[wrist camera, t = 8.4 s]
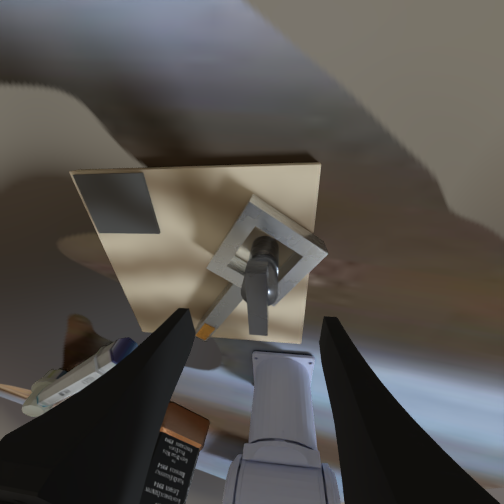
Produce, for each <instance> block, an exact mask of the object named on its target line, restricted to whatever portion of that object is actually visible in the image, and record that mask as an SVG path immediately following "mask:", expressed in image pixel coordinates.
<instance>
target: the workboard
mask: <svg viewBox="0 0 504 504" xmlns="http://www.w3.org/2000/svg"><path fill="white" fill-rule="evenodd" d="M320 171H321V164H320V163H319V162H314V163H281V164H248V165H216V166H183V167H150V168H119V169H86V170H75V171H71V172H69V173H70V175H71V177H72V179H73V182H74V184H75V186H76V188H77V190H78V192H79V195H80V197H81V198H82V201H83V203H84V205H85V208H86V210H87V212H88V214H89V216H90V218H91V221H92V223H93V225H94V227H95V229H96V232H97V234H98V236H99V238H100V240H101V242H102V245H103V247H104V249H105V251H106V253H107V256H108V258H109V260H110V262H111V264H112V266H113V269H114V271H115V273H116V275H117V277H118V279H119V282H120V284H121V286H122V288H123V290H124V292H125V295H126V297H127V299H128V301H129V303H130V305H131V308H132V310H133V312H134V314H135V316H136V318H137V321H138V323H139V325H140V327H141V329H142V332H151V333H153V332H154V331H155V330H156V329H157V328H158V327H159V326H160V325H161V324H162V323H164V322H165V321H166V320H167V319H168V318H169V317H170V316H171V315H172V314H173V313H174V312H175V311H176V310H177V309H178V308H189V310H190V314H191V317H192V321H193V325H194V328H195V329H196V327H197V324H198V322H199V321H200V320H201V318H202V317H203V316H204V314H205V313H206V312H207V310H208V309H209V308H210V307H211V305H212V304H213V303H214V301H215V300H216V299H217V297H218V296H219V295H220V294H221V292H222V291H223V290H224V288H225V287H226V286H227V284H228V283H229V281H227V280H226V279H224V278H222V277H220V276H219V275H217V274H215V273H213V272H212V271H210V270H208V269H206V268H207V266H208V264H209V262H210V260H211V259H212V257H213V255H214V253H215V252H216V250H217V249H218V247H219V246H220V244H221V243H222V241H223V239H224V238H225V236H226V235H227V233H228V232H229V230H230V229H231V227H232V225H233V224H234V222H235V221H236V219H237V218H238V216H239V215H240V213H241V212H242V210H243V208H244V207H245V205H246V204H247V202H248V201H249V199H250V198H251V196H252V194H254V195H256V196H257V197H259V198H260V199H262V200H263V201H265V202H266V203H268V204H269V205H271V206H272V207H274V208H275V209H277V210H278V211H280V212H281V213H282V214H284V215H285V216H287V217H288V218H290V219H291V220H293V221H294V222H296V223H297V224H299V225H300V226H302V227H303V228H305V229H306V230H308V231H309V232H311V233H312V234H313V233H314V224H315V215H316V206H317V197H318V188H319V179H320ZM260 236H269V237H272V236H270V235H268V234H267V233H265V232H264V231H262V230H261V229H259V228H257V227H256V226H255V227H254V228H253V230H252V231H251V233H250V234H249V235H248V237H247V238H246V240H245V241H244V242H243V244H242V245H241V247H240V248H239V249H238V251H237V252H236V254H235V256H236V257H238V258H240V259H242V260H243V261H245V262H247V261H248V259H249V255H250V251H251V247H252V244H253V242H254V240H255V239H256V238H258V237H260ZM272 238H273V237H272ZM274 239H275V238H274ZM275 240H276V239H275ZM276 241H277V243H278V245H279V265H278V269H279V268H280V267H281V266H282V265H283V264H284V263H285V262H286V261H287V259H288V258H289V257H290V256H291V255H292V254H293V253H294V252H295V251H293V250H292V249H290V248H289V247H287V246H286V245H284V244H283V243H281V242H279V241H278V240H276ZM308 277H309V273H308V274H307V275H306V276H305V277H304V278H303V279H302V280H301V281H300V282H299V283H298V284H297V285H296V286H295V287H294V288H293V289H292V290H291V291H290V292H289V293H288V294H286V295H285V296H284V297H283V298H282V299H281V300H280V301H279V302H278V303H277V304H276V305H275V306H274V307H273V306H272V305H270V306H268V317H269V322H268V336H262V335H249V324H248V312H247V303H246V302H245V301H244V300H242V301H241V302H240V303H239V305H238V306H237V307H236V308H235V309H234V310H233V311H232V313H231V314H230V315H229V316H228V317H227V318H226V319H225V321H224V322H223V323H222V324H221V325H220V326H219V327H218V329H217V330H216V331H215V332H214V333H213V334H212V335H211V337H216V338H229V339H242V340H255V341H269V342H282V343H295V344H301V340H302V331H303V322H304V313H305V304H306V295H307V286H308Z"/></svg>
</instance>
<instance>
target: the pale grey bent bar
mask: <svg viewBox="0 0 504 504" xmlns="http://www.w3.org/2000/svg"><path fill="white" fill-rule="evenodd" d="M137 347H138V344H137V343H136V342H135V341H133V340H132V339H131V338H129V337H127V338H121V339H118V340H116V341H115V342H113V343H112V344H110V345H107V346H102V347H101V348H100V349H99V350H98V352H97V353H96V354H95V355H93V356H92V357H90V358H89V359H87V360H86V361H84V362H83V363H81V364H80V365H78V366H77V367H75V368H74V369H72V370H71V371H69V372H67V371H64V370H61V368H59V369H58V370H53V369H51V370H50V371H48V372H47V373H46V374H45V376H44V377H43V378H41V379H40V380H38V381H37V382H35V383H34V384H33V385H32V389H31V391H32V393H31V395H30V396H29V397H28V399H27V400H26V401H25V402H24V404H23V407H22V412H23V413H24V414H26V415H28V416H32V417H39V416H40V415H42V414H44V413H45V412H47V411H49V409H50V408H51V407H52V406H53V405H54V404H55V403H57V402H59V401H61V400H63V399H65V398H67V397H69V396H71V395H73V394H75V393H77V392H79V391H80V390H82V389H83V388H85V387H86V386H88V385H89V384H90V383H92V382H93V381H95V380H96V379H98V378H99V377H101V376H102V375H103V374H105V373H106V372H107V371H109V370H110V369H111V368H113V367H114V366H115V365H116V364H118V363H119V362H120V361H121V360H123V359H124V358H125V357H126V356H127V355H129V354H130V353H131V352H132V351H133V350H134V349H136V348H137Z"/></svg>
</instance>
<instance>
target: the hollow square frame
mask: <svg viewBox="0 0 504 504" xmlns="http://www.w3.org/2000/svg"><path fill="white" fill-rule="evenodd" d="M255 226H256V227H257V228H259V229H261V230H262V231H264V232H265V233H267V234H268V235H270V236H272V237H273V238H275V239H276V240H278V241H279V242H281V243H283V244H284V245H286V246H287V247H289V248H290V249H292V250H293V251H295V252H294V253H293V254H292V255H291V256H290V257H289V258H288V259H287V261H286V262H285V263H284V264H283V265H282V266H281V267H280V268H279V269H278V297H277V299H276V301H275V302H274V303H273V304H272V306H273V307H274V306H275V305H276V304H277V303H278V302H279V301H280V300H281V299H282V298H283V297H284V296H285V295H286V294H288V293H289V292H290V291H291V290H292V289H293V288H294V287H295V286H296V285H297V284H298V283H299V282H300V281H301V280H302V279H303V278H304V277H305V276H306V275H307V274H308V273H309V272H310V271H311V270H312V269H313V268H314V267H315V266H316V265H317V264H318V263H319V262H320V261H321V260H322V259H323V258H324V257H326V256H327V255H328V251H327V249H326V246H325V243H324V241H323V240H321V239H320V238H318V237H317V236H315V235H314V234H312V233H311V232H309V231H308V230H306V229H305V228H303V227H302V226H300V225H299V224H297V223H296V222H294V221H293V220H291V219H290V218H288V217H287V216H285V215H284V214H282V213H281V212H280V211H278V210H277V209H275V208H274V207H272V206H271V205H269V204H268V203H266V202H265V201H263V200H262V199H260V198H259V197H257V196H256V195H254V194H252V196H251V198H250V199H249V201H248V202H247V204H246V205H245V207H244V208H243V210H242V212H241V213H240V215H239V216H238V218H237V219H236V221H235V222H234V224H233V225H232V227H231V229H230V230H229V232H228V233H227V235H226V236H225V238H224V239H223V241H222V243H221V244H220V246H219V247H218V249H217V250H216V252H215V253H214V255H213V257H212V259H211V260H210V262H209V264H208V266H207V268H206V269H208V270H210V271H212V272H213V273H215V274H217V275H219V276H220V277H222V278H224V279H226V280H227V281H229V283H228V284H227V286H226V287H225V288H224V290H223V291H222V292H221V294H220V295H219V296H218V297H217V299H216V300H215V301H214V303H213V304H212V305H211V307H210V308H209V309H208V310H207V312H206V313H205V314H204V316H203V317H202V318H201V320H200V321H199V322H198V324H197V327H196V329H195V332H196V334H195V337H197V338H199V339H201V340H203V341H205V342H206V341H207V340H208V339H209V338H210V337H211V335H212V334H213V333H214V332H215V331H216V330H217V329H218V327H219V326H220V325H221V324H222V323H223V322H224V321H225V319H226V318H227V317H228V316H229V315H230V314H231V313H232V311H233V310H234V309H235V308H236V307H237V306H238V305H239V303H240V302H241V301H242V300H243V298H242V296H241V287H242V283H243V279H244V275H245V274H244V273H245V269H246V265H247V262H245V261H243V260H242V259H240V258H238V257H236V256H235V254H236V252H237V251H238V249H239V248H240V247H241V245H242V244H243V242H244V241H245V240H246V238H247V237H248V235H249V234H250V233H251V231H252V230H253V228H254V227H255Z"/></svg>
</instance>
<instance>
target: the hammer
mask: <svg viewBox="0 0 504 504" xmlns="http://www.w3.org/2000/svg"><path fill="white" fill-rule="evenodd" d="M278 265H279V245H278V243H277V241H276V240H275V239H274V238H272V237H269V236H260V237H258V238H256V239H255V240H254V242H253V244H252V247H251V251H250V255H249V259H248V261H247V265H246V269H245V273H244V274H245V275H244V279H243V283H242V287H241V296H242V298H243V300H244V301H245V302H246V303H247V312H248V324H249V335H262V336H268V322H269V317H268V306H270V305H272V304H273V303H274V302H275V301H276V299H277V297H278Z"/></svg>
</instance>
